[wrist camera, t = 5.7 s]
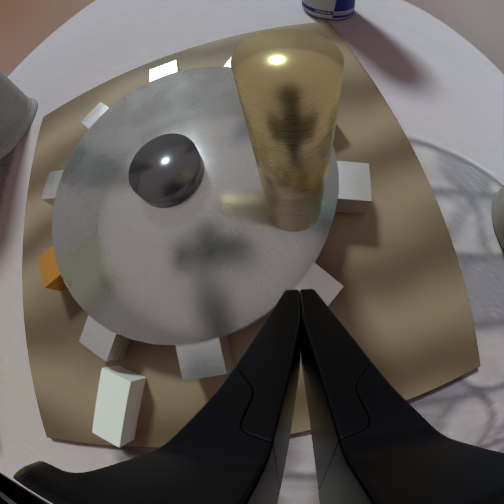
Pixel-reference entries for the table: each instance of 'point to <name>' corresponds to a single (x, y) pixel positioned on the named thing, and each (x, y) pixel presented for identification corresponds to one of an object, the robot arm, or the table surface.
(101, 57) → the table surface
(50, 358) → the sprocket board
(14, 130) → the tall grey black mug
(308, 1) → the energy drink
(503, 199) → the coffee cup
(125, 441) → the pale mint brick
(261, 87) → the sprocket
